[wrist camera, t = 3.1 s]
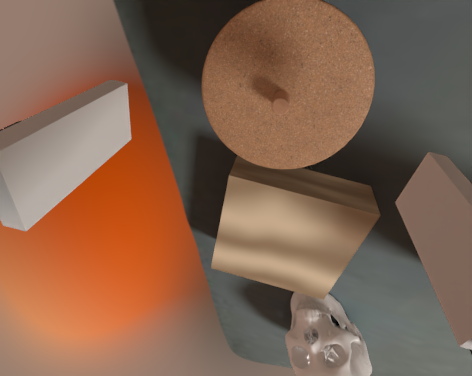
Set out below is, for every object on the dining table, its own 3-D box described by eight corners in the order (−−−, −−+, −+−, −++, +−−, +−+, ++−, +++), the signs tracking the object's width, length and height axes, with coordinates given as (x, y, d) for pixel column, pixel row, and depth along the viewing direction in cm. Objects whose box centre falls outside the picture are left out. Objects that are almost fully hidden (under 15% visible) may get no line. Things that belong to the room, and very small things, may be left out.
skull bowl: (338, 281, 35) (368, 399, 30) (356, 287, 47) (380, 374, 41) (264, 292, 40) (278, 398, 34) (296, 296, 51) (311, 375, 45)
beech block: (239, 150, 30) (229, 175, 26) (370, 183, 29) (380, 215, 25) (220, 238, 38) (210, 267, 34) (321, 266, 37) (323, 299, 33)
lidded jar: (261, -37, 20) (234, -52, 13) (387, 36, 21) (432, 62, 14) (209, 96, 26) (171, 138, 19) (307, 147, 27) (308, 206, 20)
